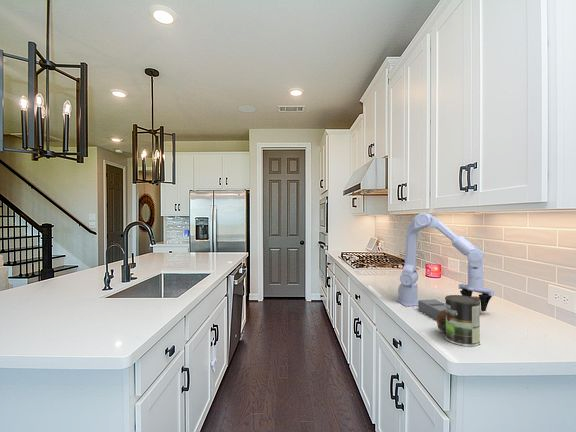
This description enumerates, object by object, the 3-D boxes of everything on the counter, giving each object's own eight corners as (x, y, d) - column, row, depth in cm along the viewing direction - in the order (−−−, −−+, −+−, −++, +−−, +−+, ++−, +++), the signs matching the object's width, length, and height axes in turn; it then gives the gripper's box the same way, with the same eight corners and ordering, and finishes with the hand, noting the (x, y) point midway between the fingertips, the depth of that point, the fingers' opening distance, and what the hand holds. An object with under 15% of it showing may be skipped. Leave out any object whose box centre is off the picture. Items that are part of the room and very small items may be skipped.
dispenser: (436, 309, 142) (436, 299, 142) (459, 321, 126) (459, 309, 126) (418, 310, 141) (418, 300, 141) (439, 322, 125) (439, 310, 125)
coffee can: (457, 347, 101) (456, 303, 101) (439, 335, 111) (439, 295, 111) (488, 346, 102) (487, 302, 102) (467, 334, 112) (467, 294, 112)
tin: (441, 335, 111) (441, 311, 111) (435, 332, 114) (435, 309, 114) (476, 330, 115) (475, 307, 115) (469, 327, 118) (468, 305, 118)
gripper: (453, 275, 140) (454, 305, 140) (486, 281, 127) (486, 314, 127) (464, 273, 143) (464, 303, 143) (497, 279, 130) (497, 312, 130)
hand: (475, 308), depth 135 cm, fingers open, 6 cm apart
